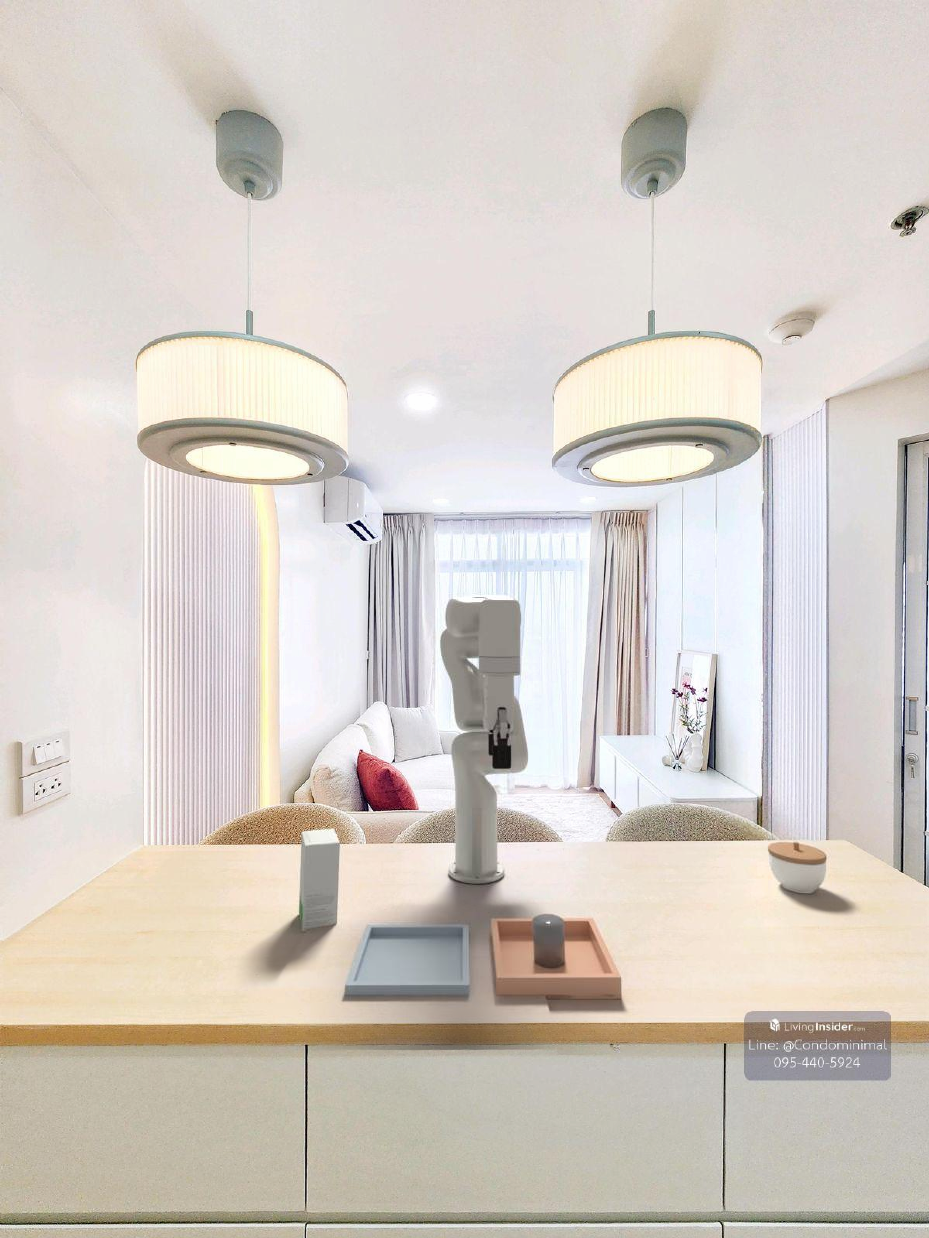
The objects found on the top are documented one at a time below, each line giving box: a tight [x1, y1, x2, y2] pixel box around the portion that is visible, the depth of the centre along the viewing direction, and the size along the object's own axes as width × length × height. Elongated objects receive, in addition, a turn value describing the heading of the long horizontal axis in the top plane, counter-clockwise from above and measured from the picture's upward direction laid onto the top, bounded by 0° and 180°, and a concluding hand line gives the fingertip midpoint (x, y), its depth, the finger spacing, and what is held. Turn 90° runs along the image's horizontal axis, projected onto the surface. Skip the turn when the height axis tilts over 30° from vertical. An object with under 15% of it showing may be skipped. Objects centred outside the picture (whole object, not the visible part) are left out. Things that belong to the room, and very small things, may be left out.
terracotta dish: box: [490, 917, 623, 1000], centre depth 90 cm, size 18×18×3 cm
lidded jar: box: [767, 841, 827, 895], centre depth 119 cm, size 11×11×9 cm
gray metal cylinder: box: [532, 913, 565, 968], centre depth 91 cm, size 5×5×6 cm
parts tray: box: [344, 923, 470, 997], centre depth 90 cm, size 18×18×2 cm
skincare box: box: [298, 827, 341, 933], centre depth 106 cm, size 8×7×16 cm
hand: (499, 761), depth 101 cm, fingers open, 9 cm apart
